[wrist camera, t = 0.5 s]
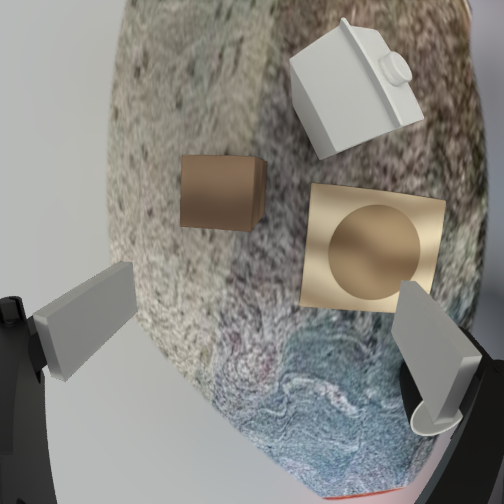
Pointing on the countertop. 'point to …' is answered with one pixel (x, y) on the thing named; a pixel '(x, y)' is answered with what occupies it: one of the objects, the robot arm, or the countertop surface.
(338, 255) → the board
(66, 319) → the robot arm
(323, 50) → the milk carton
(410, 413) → the mug
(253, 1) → the countertop surface
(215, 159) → the block
